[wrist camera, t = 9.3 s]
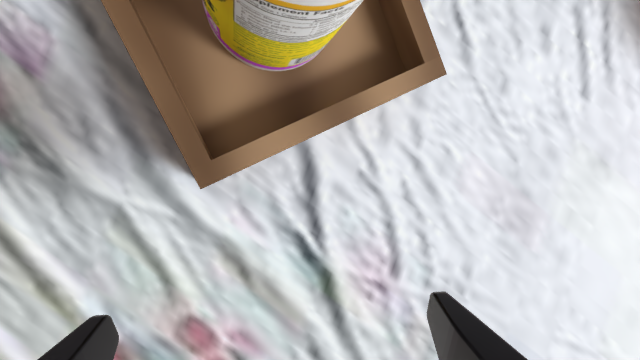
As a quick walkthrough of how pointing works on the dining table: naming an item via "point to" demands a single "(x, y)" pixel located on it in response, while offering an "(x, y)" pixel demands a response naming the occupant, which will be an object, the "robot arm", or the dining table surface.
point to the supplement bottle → (277, 29)
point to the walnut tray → (268, 79)
